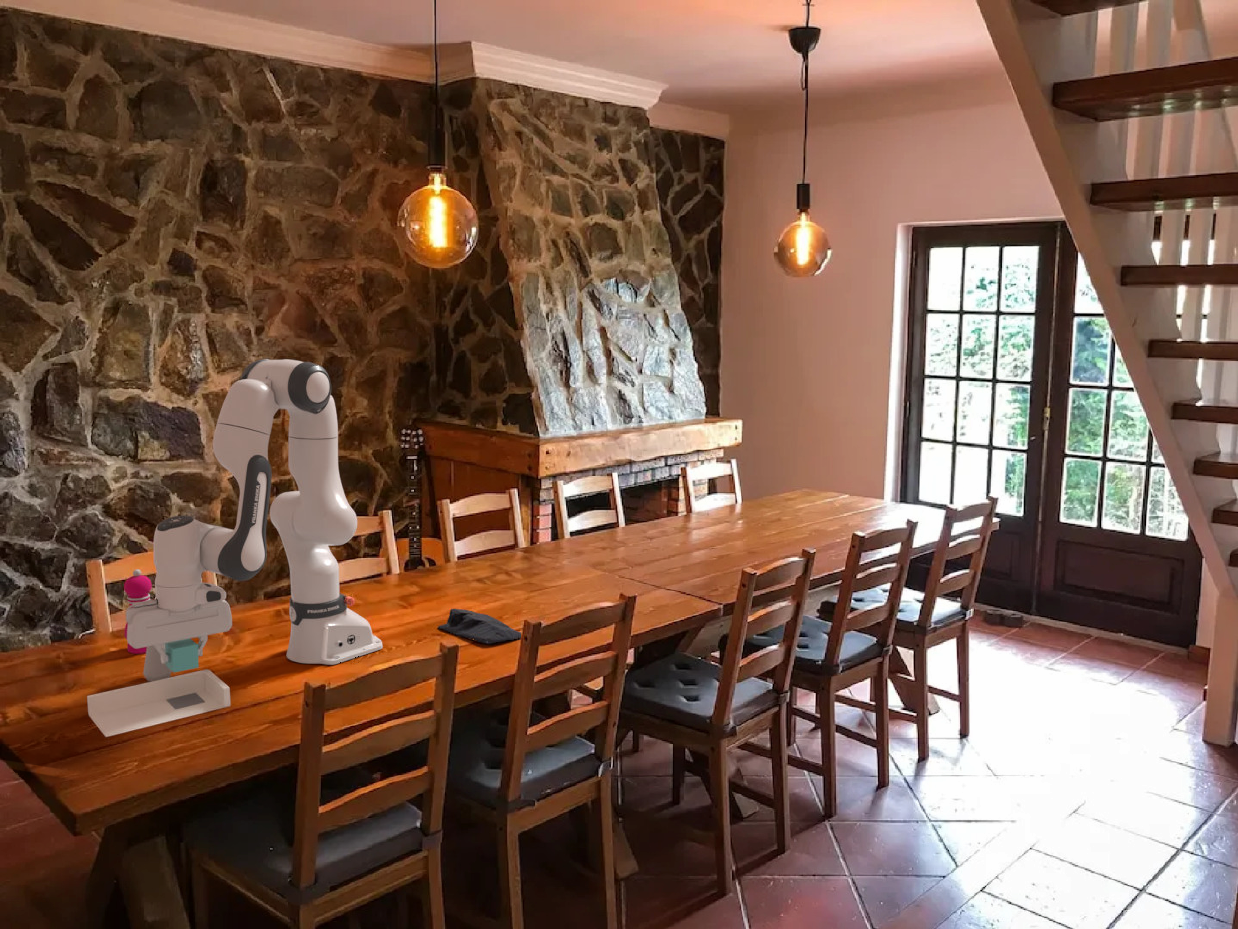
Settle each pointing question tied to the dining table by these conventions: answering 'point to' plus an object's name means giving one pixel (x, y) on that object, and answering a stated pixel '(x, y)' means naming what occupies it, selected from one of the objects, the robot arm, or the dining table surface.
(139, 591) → the pepper mill
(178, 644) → the cube
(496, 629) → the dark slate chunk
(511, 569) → the dining table surface
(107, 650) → the dining table surface
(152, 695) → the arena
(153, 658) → the salt shaker
